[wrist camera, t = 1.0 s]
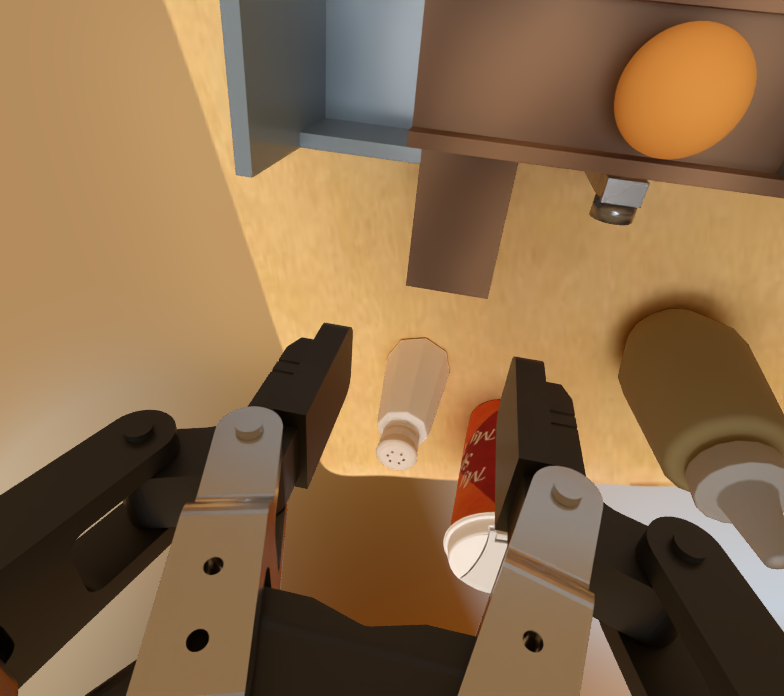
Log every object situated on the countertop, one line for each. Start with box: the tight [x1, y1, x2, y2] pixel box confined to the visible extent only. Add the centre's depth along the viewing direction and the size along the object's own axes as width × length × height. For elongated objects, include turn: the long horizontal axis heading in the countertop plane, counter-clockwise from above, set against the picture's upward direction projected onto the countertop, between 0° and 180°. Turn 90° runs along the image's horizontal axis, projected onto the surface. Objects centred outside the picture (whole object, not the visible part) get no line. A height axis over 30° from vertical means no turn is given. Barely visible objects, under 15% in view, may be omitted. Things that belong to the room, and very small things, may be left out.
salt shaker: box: [376, 338, 450, 470], centre depth 37 cm, size 5×5×11 cm
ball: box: [614, 21, 757, 159], centre depth 16 cm, size 4×4×4 cm
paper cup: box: [443, 399, 507, 593], centre depth 38 cm, size 8×8×14 cm
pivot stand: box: [584, 171, 650, 225], centre depth 23 cm, size 5×10×12 cm, turn 175°
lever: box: [406, 0, 784, 299], centre depth 19 cm, size 17×13×4 cm
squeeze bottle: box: [618, 309, 784, 569], centre depth 29 cm, size 8×8×18 cm
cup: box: [220, 0, 425, 177], centre depth 24 cm, size 11×11×12 cm
